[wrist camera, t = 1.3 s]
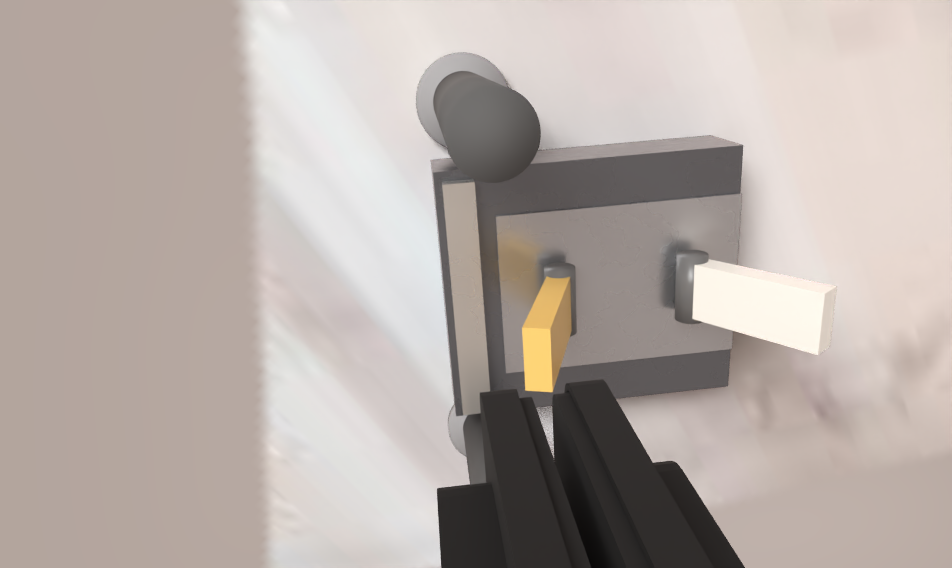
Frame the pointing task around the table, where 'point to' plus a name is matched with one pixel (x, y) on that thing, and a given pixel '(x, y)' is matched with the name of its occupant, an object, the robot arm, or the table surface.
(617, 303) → the breaker panel
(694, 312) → the paddle white
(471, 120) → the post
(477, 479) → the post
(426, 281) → the table surface
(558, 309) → the paddle amber
